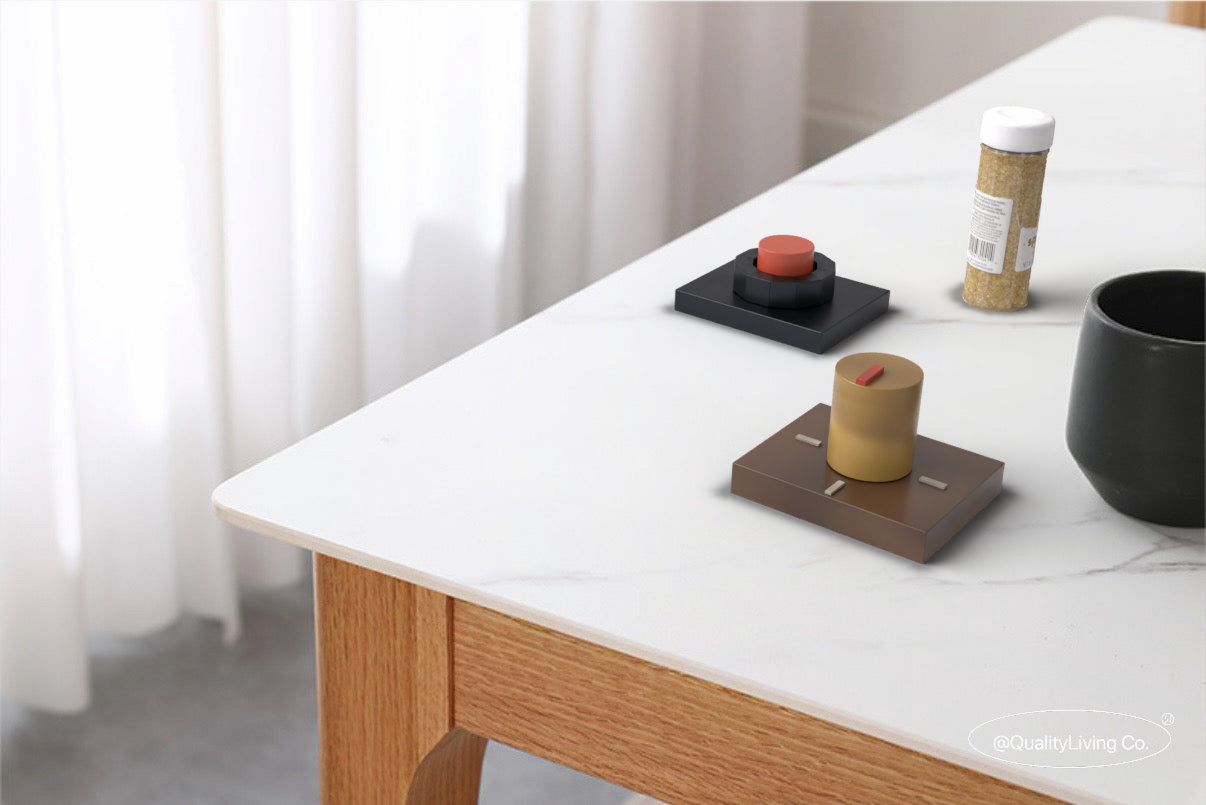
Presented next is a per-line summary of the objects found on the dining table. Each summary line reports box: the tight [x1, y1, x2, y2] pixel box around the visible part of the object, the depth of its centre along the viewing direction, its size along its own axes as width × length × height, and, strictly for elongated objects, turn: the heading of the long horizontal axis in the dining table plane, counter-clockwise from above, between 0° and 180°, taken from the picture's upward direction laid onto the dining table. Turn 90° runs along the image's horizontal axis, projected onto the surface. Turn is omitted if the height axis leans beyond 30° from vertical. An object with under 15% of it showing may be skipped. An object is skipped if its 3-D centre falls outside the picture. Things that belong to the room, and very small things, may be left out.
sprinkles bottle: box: [961, 105, 1056, 312], centre depth 103 cm, size 5×5×13 cm
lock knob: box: [827, 351, 925, 482], centre depth 79 cm, size 4×4×6 cm
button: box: [757, 234, 816, 276], centre depth 101 cm, size 4×4×2 cm
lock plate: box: [730, 402, 1006, 565], centre depth 81 cm, size 11×9×3 cm
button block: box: [674, 247, 891, 355], centre depth 102 cm, size 11×9×4 cm
